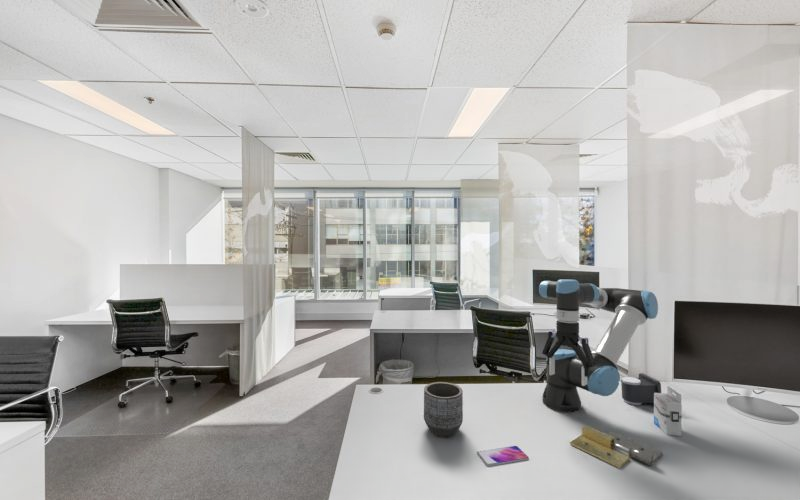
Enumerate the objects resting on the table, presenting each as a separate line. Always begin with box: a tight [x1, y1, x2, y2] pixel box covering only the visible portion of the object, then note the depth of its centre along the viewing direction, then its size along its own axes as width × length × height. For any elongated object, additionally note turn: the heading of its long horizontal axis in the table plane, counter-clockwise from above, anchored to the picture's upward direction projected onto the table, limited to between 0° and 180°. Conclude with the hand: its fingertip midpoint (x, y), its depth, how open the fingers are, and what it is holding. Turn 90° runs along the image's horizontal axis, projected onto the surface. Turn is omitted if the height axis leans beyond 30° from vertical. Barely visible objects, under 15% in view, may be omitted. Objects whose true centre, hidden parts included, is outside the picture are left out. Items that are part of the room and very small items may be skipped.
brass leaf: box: [569, 425, 631, 469], centre depth 108 cm, size 15×11×3 cm
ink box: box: [653, 385, 683, 436], centre depth 121 cm, size 9×5×15 cm, turn 168°
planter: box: [423, 381, 464, 438], centre depth 120 cm, size 14×14×15 cm
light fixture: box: [620, 372, 662, 406], centre depth 143 cm, size 11×13×11 cm
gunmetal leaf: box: [607, 431, 664, 466], centre depth 108 cm, size 15×11×3 cm
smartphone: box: [476, 445, 530, 467], centre depth 104 cm, size 7×1×15 cm
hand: (567, 379), depth 121 cm, fingers open, 11 cm apart
